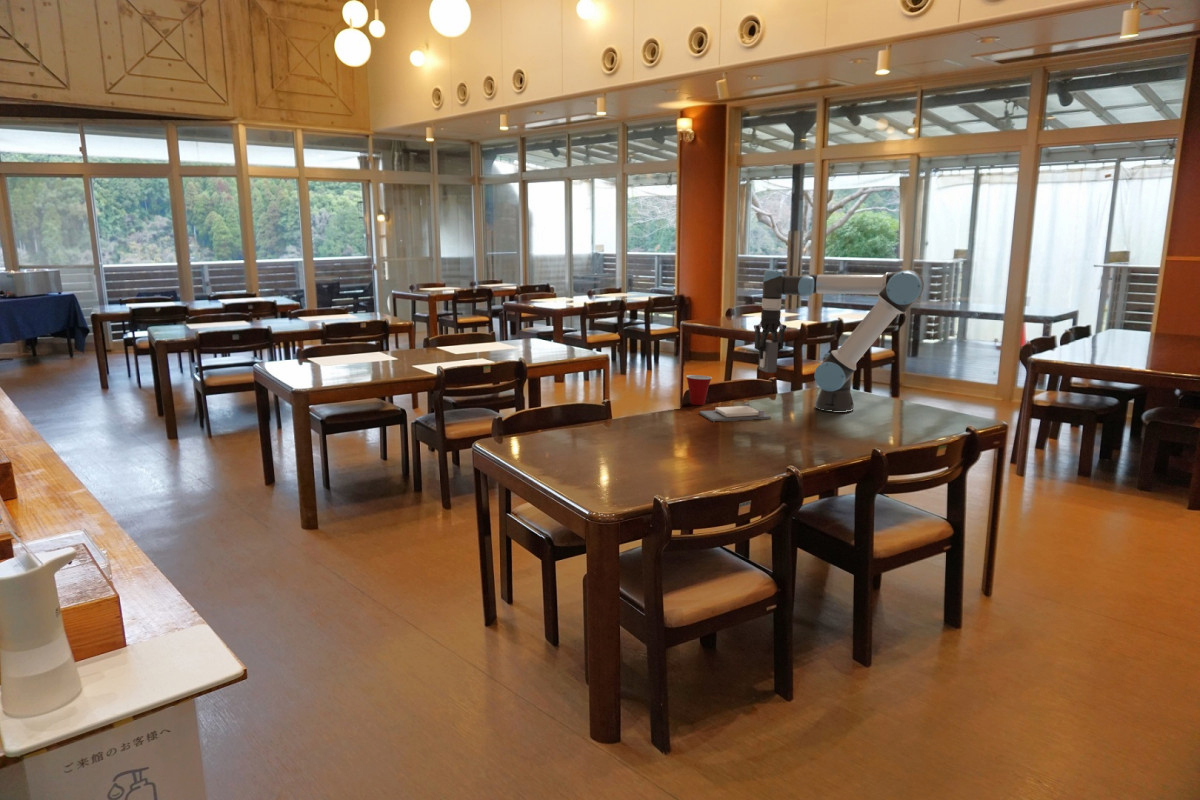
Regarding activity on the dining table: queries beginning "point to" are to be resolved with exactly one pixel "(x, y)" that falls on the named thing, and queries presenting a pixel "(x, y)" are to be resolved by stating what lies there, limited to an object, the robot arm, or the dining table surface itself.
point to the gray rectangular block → (770, 357)
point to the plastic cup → (698, 388)
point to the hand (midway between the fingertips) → (767, 366)
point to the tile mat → (719, 417)
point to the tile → (737, 411)
